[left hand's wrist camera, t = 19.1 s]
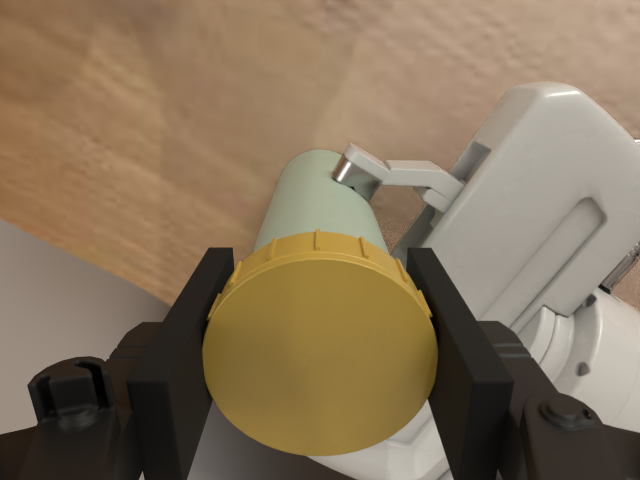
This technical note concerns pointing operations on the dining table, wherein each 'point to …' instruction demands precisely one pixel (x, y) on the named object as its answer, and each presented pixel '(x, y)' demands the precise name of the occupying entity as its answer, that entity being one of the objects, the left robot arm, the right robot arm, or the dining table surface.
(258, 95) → the dining table surface
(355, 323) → the lid
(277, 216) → the jar
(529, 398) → the left robot arm
